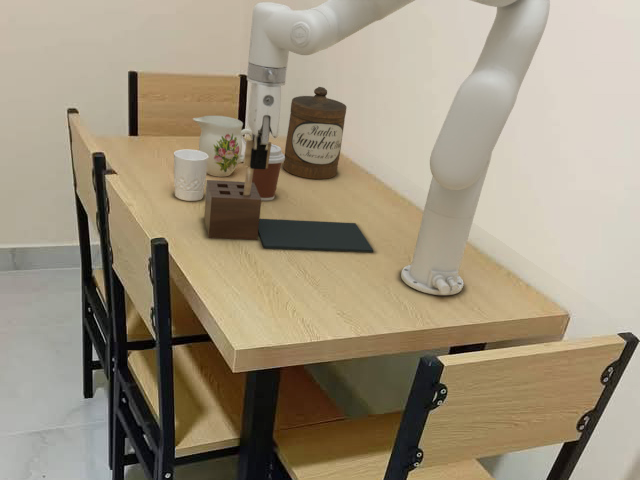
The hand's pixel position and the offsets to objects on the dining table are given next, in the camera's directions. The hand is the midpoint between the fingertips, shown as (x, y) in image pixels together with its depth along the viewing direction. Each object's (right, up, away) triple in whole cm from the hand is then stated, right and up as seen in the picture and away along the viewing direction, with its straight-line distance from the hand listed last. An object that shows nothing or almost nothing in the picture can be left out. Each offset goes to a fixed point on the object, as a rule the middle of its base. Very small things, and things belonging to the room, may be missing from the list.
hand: (257, 166), depth 152 cm
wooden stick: (-4, -12, +7) cm, 15 cm away
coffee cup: (0, 0, +29) cm, 29 cm away
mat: (+12, -13, +11) cm, 20 cm away
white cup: (-17, -1, +23) cm, 28 cm away
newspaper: (-10, +20, +58) cm, 62 cm away
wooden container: (+13, +12, +51) cm, 54 cm away
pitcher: (-10, +9, +41) cm, 43 cm away
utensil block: (-6, -11, +9) cm, 16 cm away
